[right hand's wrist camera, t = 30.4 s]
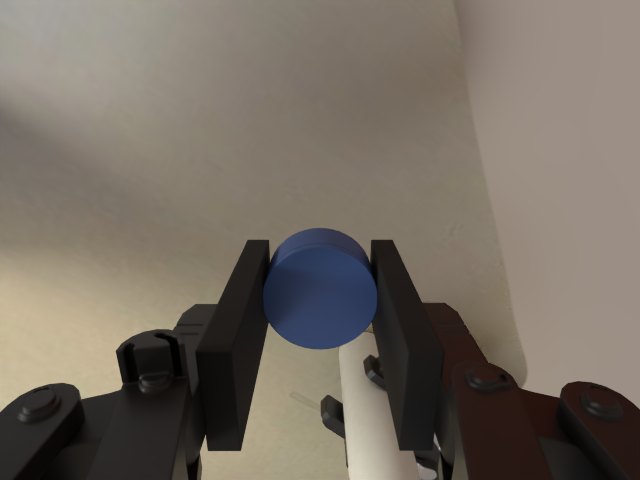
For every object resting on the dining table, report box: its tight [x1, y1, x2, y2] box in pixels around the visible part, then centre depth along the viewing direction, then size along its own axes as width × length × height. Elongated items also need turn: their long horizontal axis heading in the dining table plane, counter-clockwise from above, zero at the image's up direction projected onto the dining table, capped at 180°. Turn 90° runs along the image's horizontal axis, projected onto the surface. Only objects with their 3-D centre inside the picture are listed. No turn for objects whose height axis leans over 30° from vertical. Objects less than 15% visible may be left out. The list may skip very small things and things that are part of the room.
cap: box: [263, 228, 377, 349], centre depth 14 cm, size 4×4×2 cm
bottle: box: [339, 332, 421, 480], centre depth 28 cm, size 4×4×21 cm
